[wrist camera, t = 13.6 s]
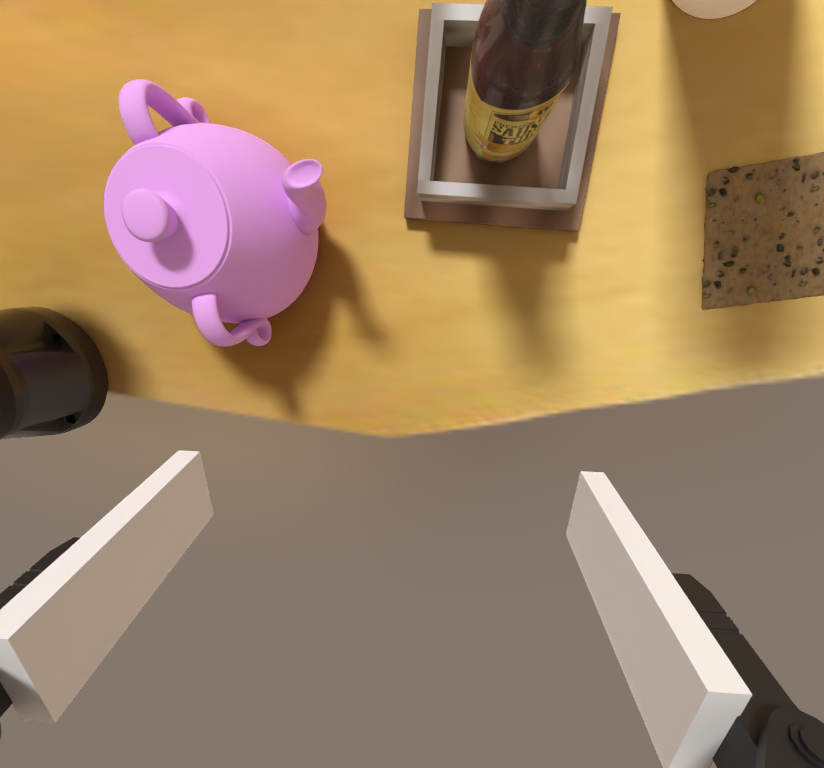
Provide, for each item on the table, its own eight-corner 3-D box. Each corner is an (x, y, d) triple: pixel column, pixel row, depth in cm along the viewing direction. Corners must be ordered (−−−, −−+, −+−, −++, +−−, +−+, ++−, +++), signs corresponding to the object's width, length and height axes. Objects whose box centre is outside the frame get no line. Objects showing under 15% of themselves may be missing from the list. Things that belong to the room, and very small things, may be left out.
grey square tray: (405, 218, 38) (398, 211, 33) (420, 16, 33) (414, -22, 29) (576, 231, 36) (591, 225, 32) (615, 21, 32) (640, -20, 27)
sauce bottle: (482, 181, 35) (514, 69, 16) (450, 113, 34) (442, -97, 15) (551, 139, 33) (677, -41, 14) (520, 66, 32) (612, -235, 13)
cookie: (697, 312, 37) (704, 313, 36) (703, 172, 34) (710, 169, 33) (843, 294, 35) (854, 294, 34) (863, 145, 32) (875, 141, 31)
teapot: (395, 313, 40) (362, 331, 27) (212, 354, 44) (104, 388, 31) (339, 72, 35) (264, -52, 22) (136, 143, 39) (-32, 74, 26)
